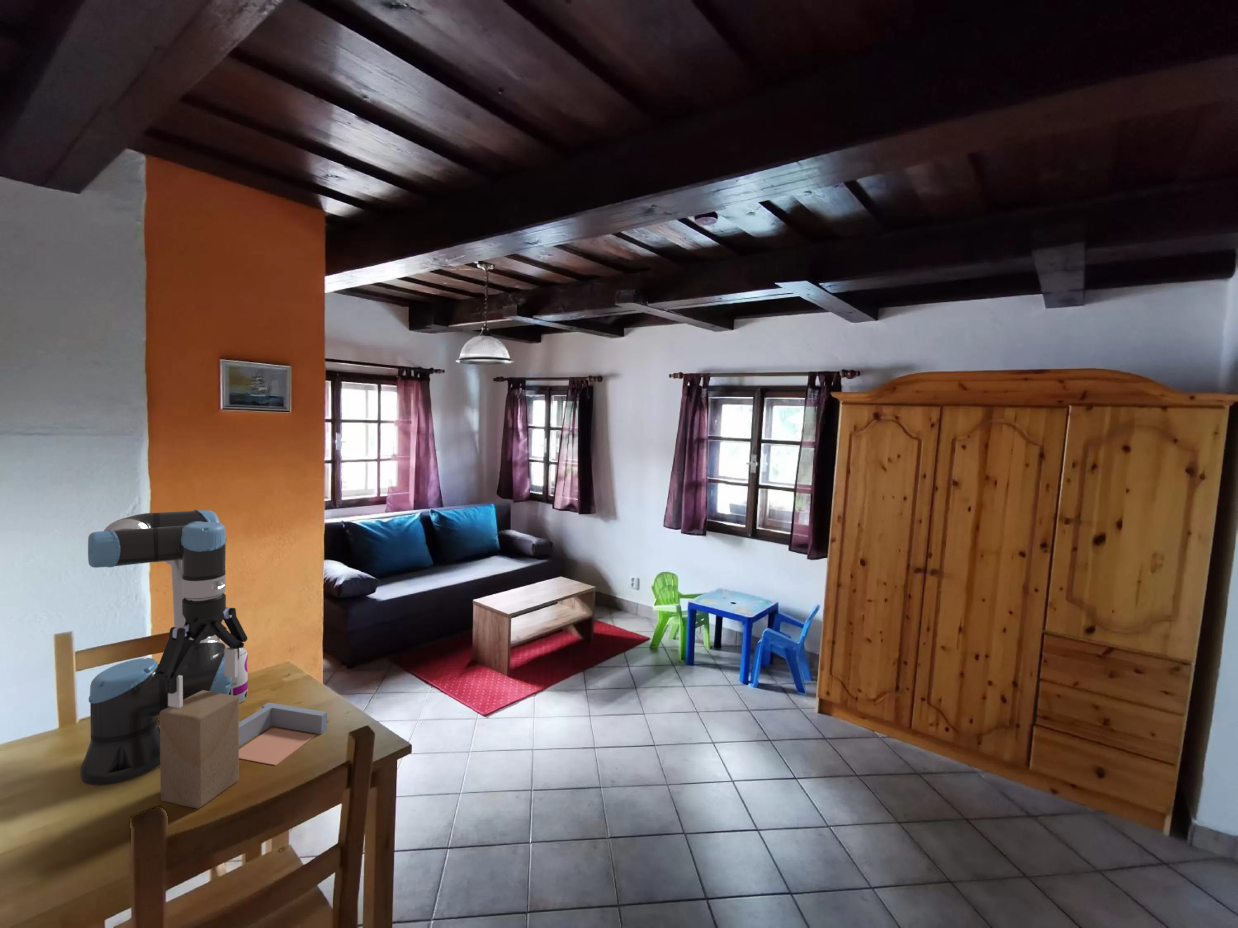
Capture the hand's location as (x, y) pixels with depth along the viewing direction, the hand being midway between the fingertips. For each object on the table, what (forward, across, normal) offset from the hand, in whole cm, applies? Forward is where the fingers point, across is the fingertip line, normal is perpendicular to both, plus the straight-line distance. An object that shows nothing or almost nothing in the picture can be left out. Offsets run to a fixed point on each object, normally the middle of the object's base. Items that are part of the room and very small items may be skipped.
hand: (204, 690), depth 122 cm
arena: (+23, +18, -1) cm, 29 cm away
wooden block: (+23, -1, 0) cm, 23 cm away
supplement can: (+23, +33, +25) cm, 47 cm away
